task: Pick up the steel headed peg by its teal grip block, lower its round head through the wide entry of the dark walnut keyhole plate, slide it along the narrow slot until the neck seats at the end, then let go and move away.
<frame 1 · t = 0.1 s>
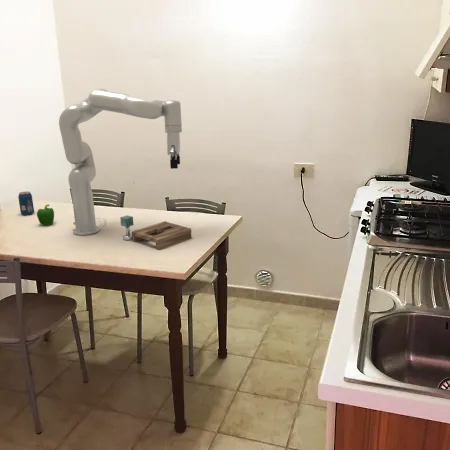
hand: (175, 166, 233), 31 cm above the table, tool pointing down, fingers open, 9 cm apart
soda can: (27, 214, 276), on the table
bell pepper: (47, 224, 257), on the table
keyhole plate: (162, 239, 230), on the table
headed peg: (128, 238, 233), on the table
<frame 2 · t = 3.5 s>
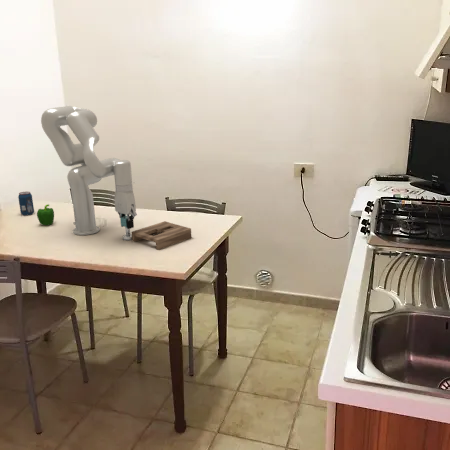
hand: (127, 226, 231), 6 cm above the table, tool pointing down, fingers closed on headed peg, 4 cm apart
headed peg: (128, 238, 233), on the table, touching gripper
everything else where it was.
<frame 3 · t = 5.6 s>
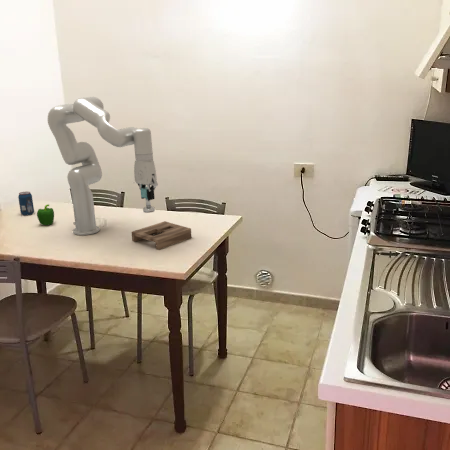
hand: (147, 198, 222), 20 cm above the table, tool pointing down, fingers closed on headed peg, 4 cm apart
headed peg: (149, 211, 224), point 14 cm above the table, touching gripper
everything else where it was.
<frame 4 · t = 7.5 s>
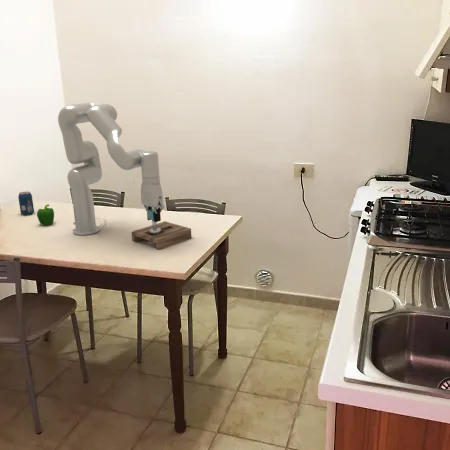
hand: (154, 220, 224), 10 cm above the table, tool pointing down, fingers closed on headed peg, 4 cm apart
headed peg: (155, 232, 226), point 4 cm above the table, touching gripper
everything else where it was.
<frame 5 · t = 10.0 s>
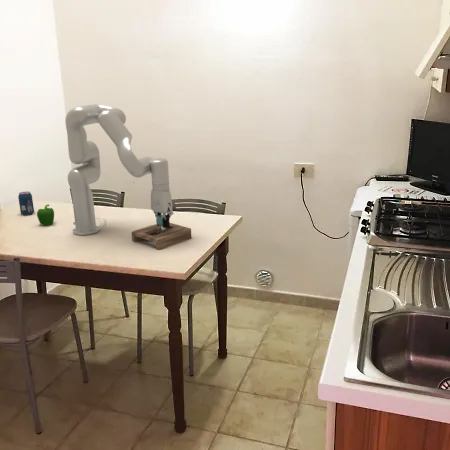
hand: (163, 225, 229), 6 cm above the table, tool pointing down, fingers closed on headed peg, 4 cm apart
headed peg: (163, 237, 231), on the table, touching gripper
everything else where it was.
when the fingers open (6 cm above the table, at t = 11.9 s): headed peg stays where it is, on the table.
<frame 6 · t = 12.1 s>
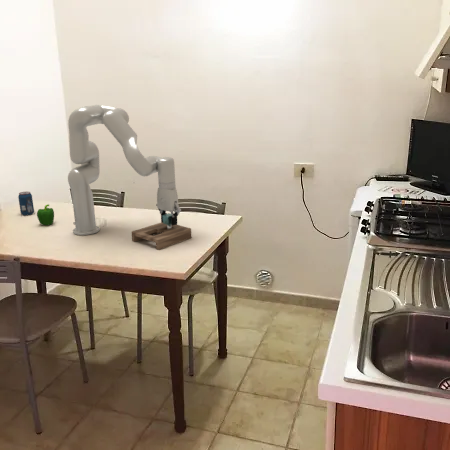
hand: (169, 223, 232), 7 cm above the table, tool pointing down, fingers open, 6 cm apart
headed peg: (169, 236, 234), on the table
everything else where it was.
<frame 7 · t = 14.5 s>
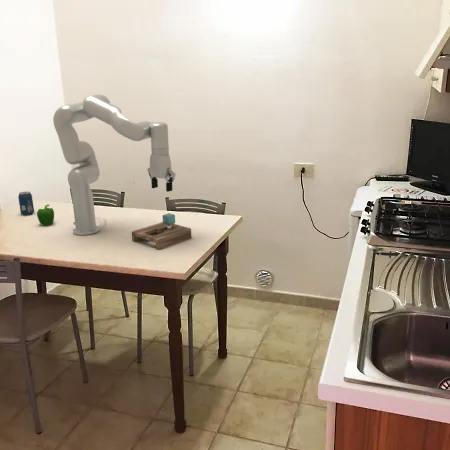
hand: (162, 189, 227), 23 cm above the table, tool pointing down, fingers open, 9 cm apart
nothing on the table moved.
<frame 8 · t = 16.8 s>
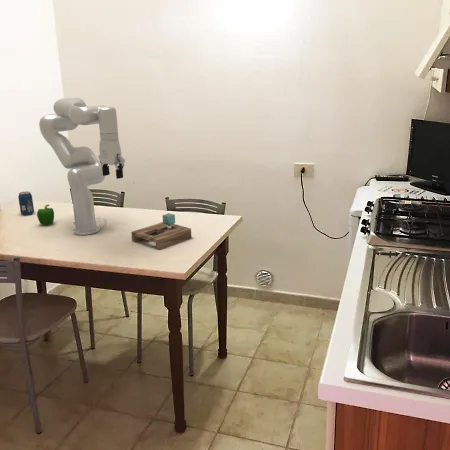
hand: (113, 176, 218), 30 cm above the table, tool pointing down, fingers open, 9 cm apart
nothing on the table moved.
at the end: headed peg 0.2 cm from the target spot on the keyhole plate, point 0.0 cm above the keyhole plate's base; the gripper is holding nothing; headed peg tilted 0° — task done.
